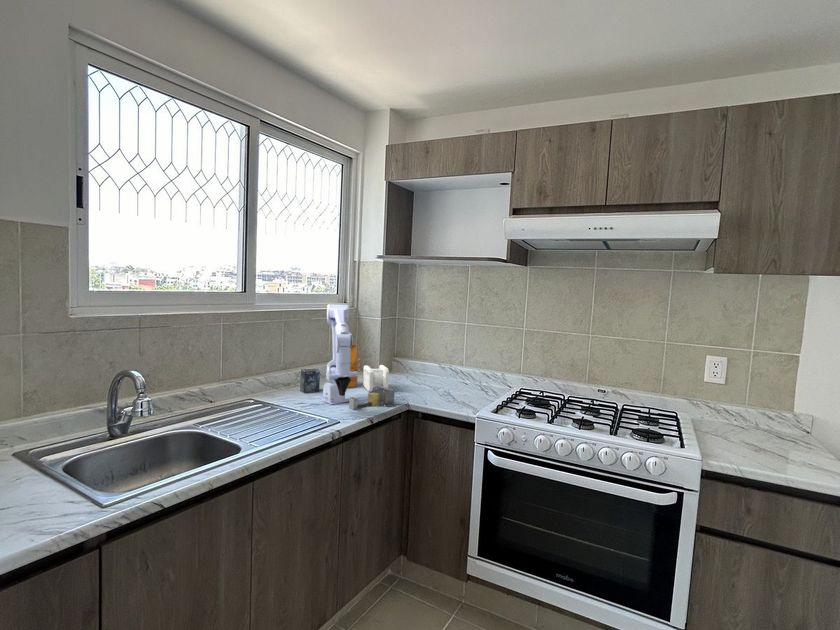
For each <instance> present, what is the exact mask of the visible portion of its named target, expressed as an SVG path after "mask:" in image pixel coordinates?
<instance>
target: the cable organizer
mask: <svg viewBox="0 0 840 630" xmlns="http://www.w3.org/2000/svg"><path fill="white" fill-rule="evenodd" d="M378 367H379V368H371V366H369V365H364V366H363V371H362V372H363V375H362V376H363V377H362V385H363V387H364V388H365V390H367V392H368V393H371V392H373V389H376V388H378V387H379V386H383V387H387V388H389V381H390V380H389V379H390V378H389V376H390V375H389V374H390V371H389V368H388V367H387V366H385V365H384V364H379V366H378ZM384 392H386V391H385V390H384Z"/></svg>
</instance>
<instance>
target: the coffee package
mask: <svg viewBox="0 0 840 630" xmlns="http://www.w3.org/2000/svg"><path fill="white" fill-rule="evenodd" d="M350 348H351V347H350ZM354 371H356V372H358V373H359V355H358V347H357V343H352V348H351V354H350V372H354ZM358 377H359V376H358ZM358 377H356V376H355V377H349V378H350V379H351V381H350V383H349V385H348V387H347V389H351V388H356V387H358Z"/></svg>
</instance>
